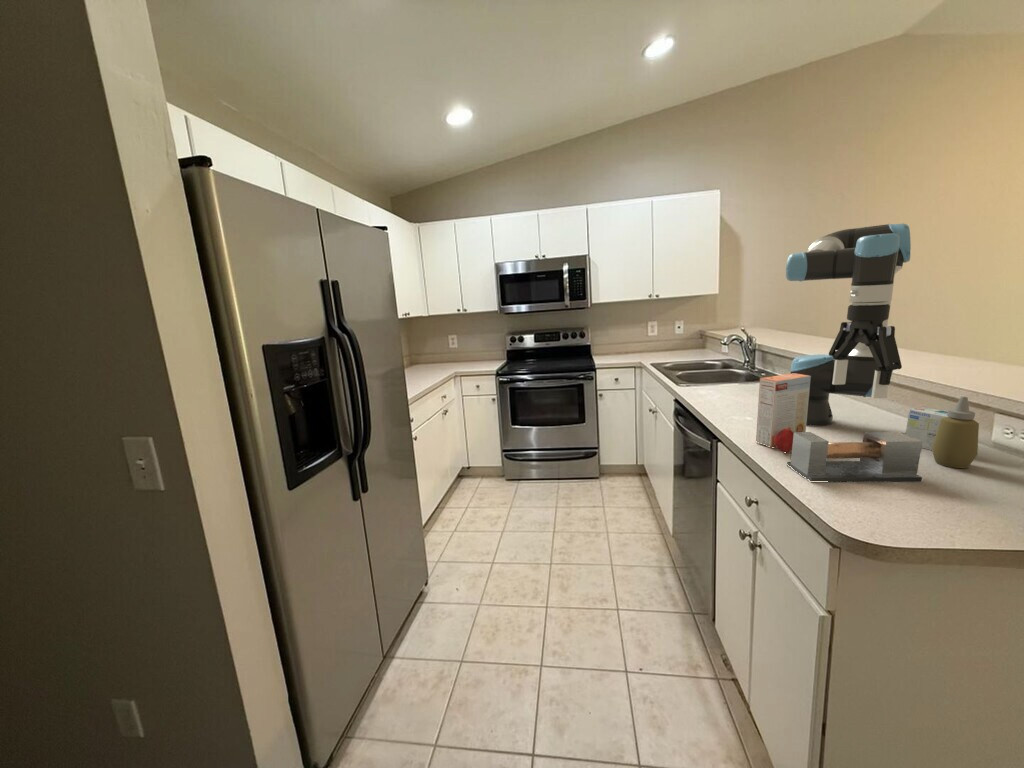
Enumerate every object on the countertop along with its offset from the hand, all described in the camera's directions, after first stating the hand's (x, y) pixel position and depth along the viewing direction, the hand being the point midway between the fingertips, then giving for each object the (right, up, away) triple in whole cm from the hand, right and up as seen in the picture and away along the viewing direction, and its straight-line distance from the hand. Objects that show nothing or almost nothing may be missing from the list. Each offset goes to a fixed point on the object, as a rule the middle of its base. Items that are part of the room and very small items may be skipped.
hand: (857, 390), depth 100 cm
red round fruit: (-7, -19, +17) cm, 26 cm away
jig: (0, -21, +2) cm, 21 cm away
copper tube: (-3, -17, +2) cm, 17 cm away
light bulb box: (+35, -17, +16) cm, 42 cm away
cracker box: (-3, -17, +25) cm, 30 cm away
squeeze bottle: (+28, -19, +5) cm, 35 cm away
